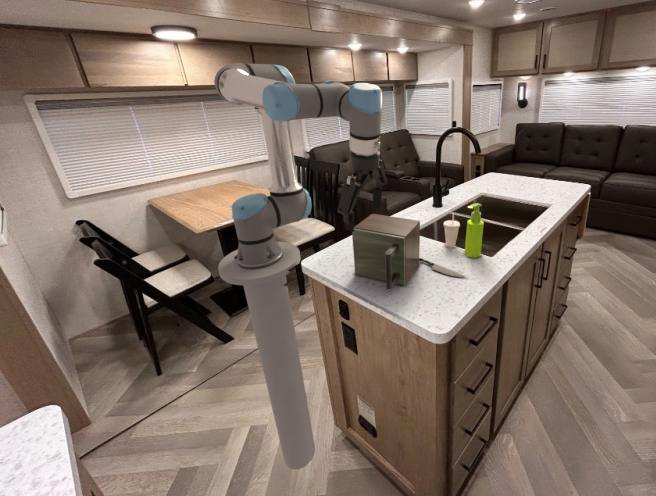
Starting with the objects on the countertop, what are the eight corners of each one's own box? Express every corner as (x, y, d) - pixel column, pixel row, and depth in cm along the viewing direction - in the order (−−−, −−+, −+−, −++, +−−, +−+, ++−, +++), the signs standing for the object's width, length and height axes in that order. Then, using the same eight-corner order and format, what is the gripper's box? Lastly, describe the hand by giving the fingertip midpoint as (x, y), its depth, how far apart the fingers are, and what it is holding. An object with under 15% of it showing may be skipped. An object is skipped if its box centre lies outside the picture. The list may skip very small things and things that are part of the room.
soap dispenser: (459, 253, 121) (463, 204, 113) (472, 248, 125) (476, 200, 117) (471, 260, 117) (475, 208, 109) (483, 254, 120) (489, 204, 113)
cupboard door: (395, 298, 96) (394, 248, 89) (344, 284, 102) (339, 238, 96) (405, 284, 103) (405, 237, 96) (356, 272, 109) (353, 228, 103)
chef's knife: (462, 281, 104) (466, 277, 106) (462, 279, 103) (466, 274, 105) (414, 263, 115) (419, 259, 117) (414, 260, 114) (419, 256, 116)
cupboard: (405, 284, 103) (405, 236, 96) (356, 272, 109) (353, 227, 103) (419, 264, 114) (420, 220, 107) (374, 255, 120) (372, 213, 114)
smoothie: (449, 250, 123) (451, 217, 118) (439, 244, 128) (440, 211, 123) (461, 246, 126) (464, 213, 121) (451, 240, 131) (453, 208, 126)
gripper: (345, 174, 70) (347, 246, 83) (402, 139, 88) (396, 203, 101) (319, 164, 73) (325, 235, 86) (379, 132, 90) (377, 195, 103)
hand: (363, 218), depth 93 cm, fingers open, 13 cm apart
